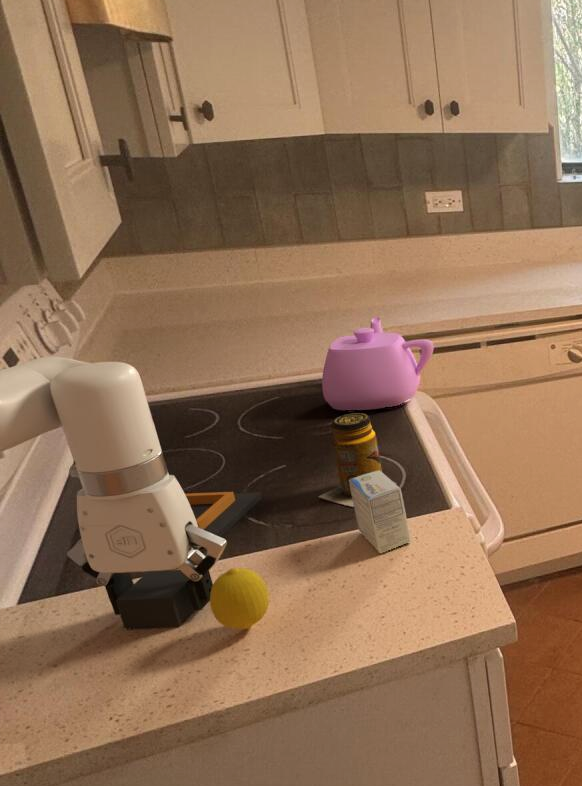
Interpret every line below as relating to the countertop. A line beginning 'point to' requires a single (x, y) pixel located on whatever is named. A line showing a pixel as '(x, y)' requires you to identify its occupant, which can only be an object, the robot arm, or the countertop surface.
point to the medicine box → (379, 511)
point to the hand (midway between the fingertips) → (165, 605)
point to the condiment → (352, 453)
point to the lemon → (239, 598)
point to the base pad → (220, 509)
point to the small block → (156, 601)
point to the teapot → (372, 369)
